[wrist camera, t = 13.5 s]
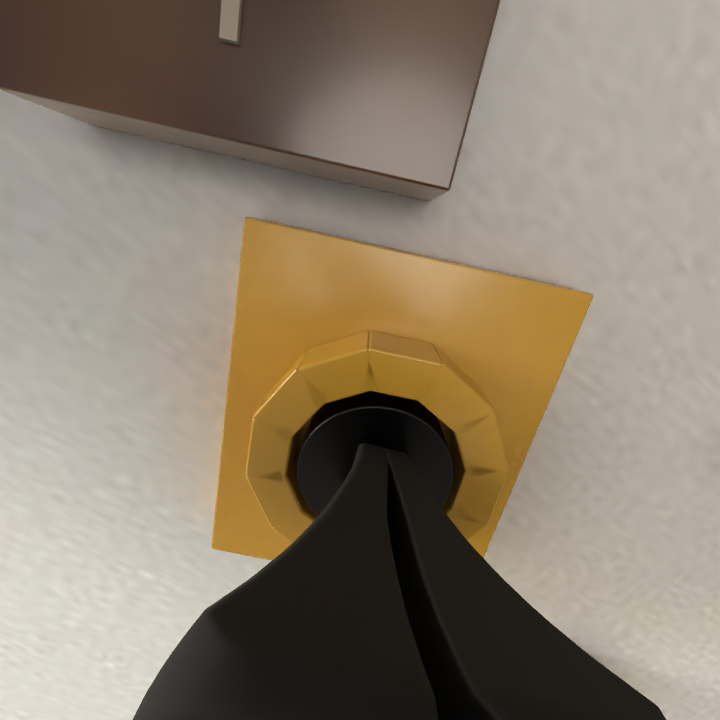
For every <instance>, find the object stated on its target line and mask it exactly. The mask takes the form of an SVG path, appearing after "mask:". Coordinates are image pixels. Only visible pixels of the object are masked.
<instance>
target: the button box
mask: <svg viewBox="0 0 720 720" xmlns="http://www.w3.org/2000/svg"><path fill="white" fill-rule="evenodd" d="M592 298H593V295H592V294H590V293H587V292H583V291H579V290H576V289H572V288H568V287H563V286H559V285H554V284H550V283H545V282H541V281H536V280H532V279H527V278H523V277H518V276H514V275H509V274H505V273H500V272H496V271H491V270H487V269H482V268H478V267H473V266H469V265H464V264H460V263H455V262H451V261H446V260H442V259H438V258H433V257H429V256H424V255H420V254H415V253H411V252H406V251H402V250H397V249H393V248H388V247H384V246H379V245H375V244H370V243H366V242H361V241H357V240H352V239H348V238H343V237H339V236H334V235H330V234H325V233H321V232H317V231H312V230H308V229H303V228H299V227H294V226H290V225H285V224H281V223H276V222H272V221H267V220H263V219H258V218H250V217H245V220H244V230H243V240H242V250H241V260H240V270H239V280H238V290H237V299H236V309H235V319H234V329H233V339H232V349H231V359H230V369H229V379H228V389H227V399H226V409H225V419H224V429H223V438H222V448H221V458H220V468H219V478H218V488H217V498H216V508H215V518H214V528H213V538H212V549H217V550H222V551H227V552H232V553H237V554H242V555H248V556H253V557H258V558H263V559H268V560H274V559H275V558H276V557H277V556H278V555H280V554H281V553H282V552H283V551H284V550H285V549H286V548H288V547H289V546H290V545H291V544H292V543H293V542H294V541H295V540H296V539H297V538H298V537H299V536H300V535H301V534H302V533H303V532H304V531H305V530H306V529H307V528H308V527H309V526H310V525H311V524H312V523H313V521H314V520H315V519H316V518H317V517H318V516H317V515H316V514H315V513H314V512H313V511H312V510H311V508H310V507H309V506H308V504H307V503H306V501H305V499H304V497H303V495H302V493H301V490H300V487H299V484H298V479H297V463H298V458H299V454H300V450H301V448H302V445H303V442H304V439H305V436H306V433H307V430H308V427H309V424H310V422H311V420H312V417H313V415H314V414H315V413H316V412H317V411H318V410H319V409H320V408H321V407H322V406H323V405H324V404H326V403H329V402H333V401H336V400H340V399H343V398H347V397H350V396H354V395H357V394H361V393H365V392H368V391H374V392H379V393H383V394H388V395H393V396H398V397H402V398H407V399H412V400H417V401H419V402H420V403H421V404H422V405H424V406H425V407H426V408H427V409H428V410H429V411H430V412H432V413H433V414H434V415H435V416H436V417H437V418H438V420H439V423H440V425H441V428H442V431H443V434H444V437H445V440H446V443H447V446H448V449H449V452H450V454H451V458H452V463H453V483H452V487H451V491H450V493H449V496H448V498H447V500H446V502H445V503H444V505H443V507H442V509H443V510H444V511H445V513H446V514H447V515H448V517H449V518H450V519H451V521H452V522H453V523H454V524H455V526H456V527H457V528H458V530H459V531H460V532H461V533H462V535H463V536H464V537H465V538H466V539H467V541H468V542H469V543H470V544H471V545H472V546H473V547H474V549H475V550H476V551H477V552H478V553H479V554H480V555H481V556H482V557H484V555H485V552H486V550H487V548H488V545H489V543H490V541H491V538H492V536H493V533H494V531H495V529H496V526H497V524H498V521H499V519H500V517H501V514H502V512H503V510H504V507H505V505H506V502H507V500H508V498H509V495H510V493H511V491H512V488H513V486H514V483H515V481H516V479H517V476H518V474H519V472H520V469H521V467H522V464H523V462H524V460H525V457H526V455H527V452H528V450H529V448H530V445H531V443H532V441H533V438H534V436H535V433H536V431H537V429H538V426H539V424H540V422H541V419H542V417H543V414H544V412H545V410H546V407H547V405H548V403H549V400H550V398H551V395H552V393H553V391H554V388H555V386H556V383H557V381H558V379H559V376H560V374H561V372H562V369H563V367H564V364H565V362H566V360H567V357H568V355H569V353H570V350H571V348H572V345H573V343H574V341H575V338H576V336H577V334H578V331H579V329H580V326H581V324H582V322H583V319H584V317H585V315H586V312H587V310H588V307H589V305H590V303H591V300H592Z"/></svg>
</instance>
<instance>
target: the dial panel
mask: <svg viewBox="0 0 720 720" xmlns="http://www.w3.org/2000/svg"><path fill="white" fill-rule="evenodd" d="M499 4H500V0H0V90H3V91H5V92H8V93H10V94H13V95H16V96H18V97H21V98H23V99H26V100H29V101H31V102H34V103H36V104H39V105H42V106H44V107H47V108H49V109H52V110H55V111H57V112H60V113H62V114H65V115H68V116H70V117H73V118H75V119H78V120H81V121H83V122H86V123H88V124H91V125H95V126H99V127H103V128H108V129H112V130H116V131H121V132H125V133H130V134H134V135H138V136H143V137H147V138H152V139H156V140H160V141H165V142H169V143H174V144H178V145H182V146H187V147H191V148H196V149H200V150H204V151H209V152H213V153H217V154H222V155H226V156H231V157H235V158H239V159H244V160H248V161H253V162H257V163H261V164H266V165H270V166H275V167H279V168H283V169H288V170H292V171H296V172H301V173H305V174H310V175H314V176H318V177H323V178H327V179H332V180H336V181H340V182H345V183H349V184H354V185H358V186H362V187H367V188H371V189H375V190H380V191H384V192H389V193H393V194H397V195H402V196H406V197H411V198H415V199H419V200H424V201H428V202H429V201H432V200H433V199H435V198H437V197H438V196H440V195H442V194H444V193H445V192H447V191H449V189H450V188H451V184H452V180H453V176H454V173H455V169H456V165H457V161H458V158H459V154H460V150H461V146H462V143H463V139H464V135H465V131H466V128H467V124H468V120H469V116H470V113H471V109H472V105H473V101H474V97H475V94H476V90H477V86H478V82H479V79H480V75H481V71H482V67H483V64H484V60H485V56H486V52H487V49H488V45H489V41H490V37H491V34H492V30H493V26H494V22H495V19H496V15H497V11H498V7H499Z"/></svg>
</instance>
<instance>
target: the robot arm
mask: <svg viewBox="0 0 720 720" xmlns="http://www.w3.org/2000/svg"><path fill="white" fill-rule="evenodd" d="M133 720H666V719H665V717H664V715H663V714H662V712H661V710H660V709H659V707H658V706H657V705H655V704H654V703H653V702H651V701H650V700H649V699H647V698H646V697H645V696H643V695H642V694H641V693H639V692H638V691H637V690H635V689H634V688H633V687H631V686H630V685H629V684H627V683H626V682H625V681H623V680H622V679H620V678H619V677H618V676H616V675H615V674H614V673H612V672H611V671H610V670H608V669H607V668H606V667H604V666H603V665H602V664H600V663H599V662H598V661H596V660H595V659H594V658H592V657H591V656H590V655H589V654H587V653H586V652H585V651H584V650H582V649H581V648H580V647H579V646H577V645H576V644H575V643H574V642H573V641H571V640H570V639H569V638H568V637H567V636H565V635H564V634H563V633H562V632H561V631H559V630H558V629H557V628H556V627H555V626H553V625H552V624H551V623H550V622H549V621H548V620H547V619H545V618H544V617H543V616H542V615H541V614H540V613H539V612H537V611H536V610H535V609H534V608H533V607H532V606H531V605H530V604H529V603H528V602H526V601H525V600H524V599H523V598H522V597H521V596H520V595H519V594H518V593H517V592H516V591H515V590H514V589H513V588H512V587H511V586H510V585H509V584H508V583H507V582H505V581H504V580H503V579H502V577H501V576H500V575H499V574H498V573H497V572H496V571H495V570H494V569H493V568H492V567H491V566H490V565H489V564H488V563H487V562H486V561H485V560H484V558H483V557H482V556H481V555H480V554H479V553H478V552H477V551H476V550H475V549H474V547H473V546H472V545H471V544H470V543H469V542H468V541H467V539H466V538H465V537H464V536H463V535H462V533H461V532H460V531H459V530H458V528H457V527H456V526H455V524H454V523H453V522H452V521H451V519H450V518H449V517H448V515H447V514H446V513H445V511H444V510H443V509H442V507H441V506H440V504H439V503H438V502H437V500H436V499H435V497H434V496H433V494H432V493H431V491H430V490H429V488H428V487H427V485H426V484H425V482H424V481H423V479H422V478H421V476H420V475H419V473H418V471H417V470H416V468H415V467H414V465H413V463H412V462H411V460H410V459H409V457H408V456H407V454H406V453H404V452H400V451H396V450H392V449H388V448H383V447H379V446H375V445H371V444H367V443H362V444H360V445H358V449H357V452H356V456H355V459H354V463H353V466H352V468H351V470H350V472H349V473H348V475H347V477H346V479H345V481H344V482H343V484H342V485H341V487H340V488H339V490H338V491H337V492H336V494H335V495H334V497H333V498H332V499H331V501H330V502H329V504H328V505H327V506H326V507H325V509H324V510H323V511H322V512H321V513H320V515H319V516H318V517H317V518H316V519H315V520H314V521H313V523H312V524H311V525H310V526H309V527H308V528H307V529H306V530H305V531H304V532H303V533H302V534H301V535H300V536H299V537H298V538H297V539H296V540H295V541H294V542H293V543H292V544H291V545H290V546H289V547H288V548H286V549H285V550H284V551H283V552H282V553H281V554H280V555H278V556H277V557H276V558H275V559H274V560H272V561H271V562H270V563H269V564H267V565H266V566H265V567H264V568H263V569H261V570H260V571H259V572H258V573H257V574H255V575H254V576H253V577H251V578H250V579H249V580H247V581H246V582H245V583H243V584H242V585H240V586H239V587H237V588H236V589H234V590H233V591H232V592H230V593H229V594H227V595H226V596H224V597H223V598H221V599H220V600H219V601H217V602H216V603H214V604H213V605H211V606H210V607H208V608H207V609H206V610H205V611H204V612H203V613H202V614H201V615H200V617H199V618H198V619H197V620H196V622H195V623H194V624H193V626H192V627H191V628H190V629H189V631H188V632H187V633H186V635H185V636H184V637H183V639H182V640H181V641H180V643H179V644H178V645H177V647H176V648H175V649H174V651H173V652H172V654H171V655H170V656H169V658H168V659H167V661H166V662H165V664H164V665H163V667H162V668H161V670H160V671H159V673H158V675H157V676H156V678H155V680H154V681H153V683H152V685H151V686H150V688H149V689H148V691H147V693H146V695H145V696H144V698H143V700H142V702H141V704H140V706H139V708H138V710H137V712H136V714H135V716H134V718H133Z"/></svg>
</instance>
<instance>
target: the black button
mask: <svg viewBox="0 0 720 720" xmlns="http://www.w3.org/2000/svg"><path fill="white" fill-rule="evenodd" d="M362 443H367V444H371V445H375V446H379V447H383V448H388V449H392V450H396V451H400V452H404V453H406V454H407V456H408V457H409V459H410V460H411V462H412V463H413V465H414V467H415V468H416V470H417V471H418V473H419V475H420V476H421V478H422V479H423V481H424V482H425V484H426V485H427V487H428V488H429V490H430V491H431V493H432V494H433V496H434V497H435V499H436V500H437V502H438V503H439V504H440V506H441V507H443V505H444V503H445V502H446V500H447V498H448V496H449V493H450V491H451V487H452V483H453V463H452V458H451V454H450V452H449V449H448V446H447V443H446V440H445V437H444V434H443V431H442V428H441V425H440V423H439V420H438V418H437V417H436V416H435V415H434V414H433V413H432V412H430V411H429V410H428V409H427V408H426V407H425V406H424V405H422V404H421V403H420V402H419V401H417V400H412V399H407V398H402V397H398V396H393V395H388V394H383V393H379V392H374V391H368V392H365V393H361V394H357V395H354V396H350V397H347V398H343V399H340V400H336V401H333V402H329V403H326V404H324V405H323V406H322V407H321V408H320V409H319V410H318V411H317V412H316V413H315V414H314V415H313V417H312V420H311V422H310V424H309V427H308V430H307V433H306V436H305V439H304V442H303V445H302V448H301V450H300V454H299V458H298V463H297V479H298V484H299V487H300V490H301V493H302V495H303V497H304V499H305V501H306V503H307V504H308V506H309V507H310V508H311V510H312V511H313V512H314V513H315V514H316V515H317V516H319V515H320V513H321V512H322V511H323V510H324V509H325V507H326V506H327V505H328V504H329V502H330V501H331V499H332V498H333V497H334V495H335V494H336V492H337V491H338V490H339V488H340V487H341V485H342V484H343V482H344V481H345V479H346V477H347V475H348V473H349V472H350V470H351V468H352V466H353V463H354V459H355V456H356V452H357V449H358V445H360V444H362Z"/></svg>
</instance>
